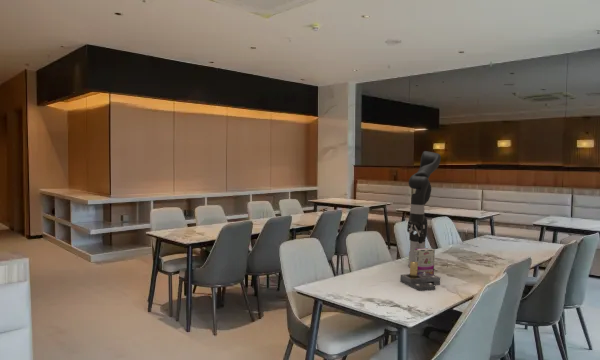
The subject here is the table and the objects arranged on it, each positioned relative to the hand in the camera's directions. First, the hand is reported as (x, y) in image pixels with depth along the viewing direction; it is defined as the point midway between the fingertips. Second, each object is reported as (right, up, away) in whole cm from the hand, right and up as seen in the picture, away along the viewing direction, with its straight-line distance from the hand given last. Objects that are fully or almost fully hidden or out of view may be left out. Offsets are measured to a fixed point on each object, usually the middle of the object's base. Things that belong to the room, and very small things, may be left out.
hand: (415, 241), depth 244 cm
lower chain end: (0, -23, -3) cm, 24 cm away
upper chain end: (+3, -23, +2) cm, 23 cm away
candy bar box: (+9, -23, +17) cm, 30 cm away
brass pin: (-1, -23, 0) cm, 23 cm away
